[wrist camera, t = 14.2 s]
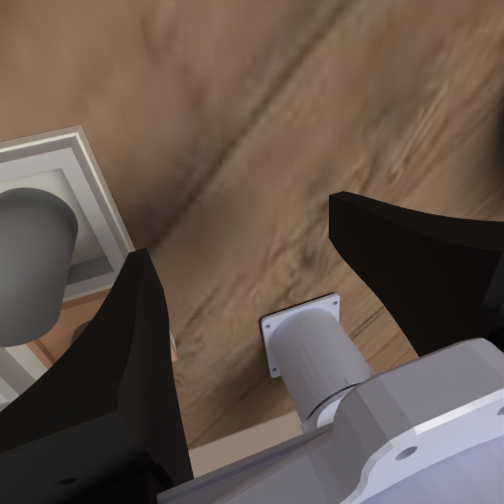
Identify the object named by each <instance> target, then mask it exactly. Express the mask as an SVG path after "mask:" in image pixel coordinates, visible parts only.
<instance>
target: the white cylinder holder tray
mask: <svg viewBox="0 0 504 504" xmlns="http://www.w3.org/2000/svg"><path fill="white" fill-rule="evenodd" d="M133 251H136V250H135V248H134V246H133V243H132V241H131V239H130V237H129V234H128V232H127V230H126V227H125V225H124V223H123V221H122V218H121V216H120V214H119V211H118V209H117V207H116V205H115V202H114V200H113V198H112V195H111V193H110V191H109V189H108V186H107V184H106V182H105V179H104V177H103V175H102V173H101V170H100V168H99V166H98V163H97V161H96V159H95V157H94V154H93V152H92V150H91V147H90V145H89V143H88V141H87V138H86V136H85V134H84V131H83V129H82V127H81V125H77V126H73V127H68V128H63V129H59V130H54V131H50V132H45V133H40V134H36V135H31V136H27V137H22V138H17V139H13V140H8V141H4V142H0V412H1V411H2V410H3V409H4V408H5V407H7V406H8V405H9V404H10V403H11V402H13V401H14V400H15V399H16V398H17V397H18V396H20V395H21V394H22V393H23V392H24V391H26V390H27V389H28V388H29V387H30V386H31V385H32V384H33V383H35V382H36V381H37V380H38V379H39V378H40V377H41V376H42V375H43V374H44V373H45V372H46V371H47V370H48V369H49V368H50V367H51V366H52V365H53V364H54V363H55V362H56V361H57V360H58V359H59V358H60V357H61V356H62V355H63V354H64V353H65V352H66V350H67V349H68V348H69V347H70V346H71V340H72V336H73V334H74V332H75V330H76V329H77V328H78V327H79V326H80V325H82V324H83V323H85V322H87V321H89V320H92V319H93V317H94V316H95V314H96V313H97V311H98V310H99V308H100V307H101V305H102V303H103V302H104V300H105V298H106V297H107V295H108V293H109V292H110V290H111V288H112V286H113V284H114V282H115V280H116V278H117V276H118V274H119V272H120V270H121V268H122V266H123V264H124V262H125V259H126V257H127V255H128V254H129V252H133ZM169 330H170V328H169ZM170 344H171V358H172V362H174V361H177V360H178V359H177V353H176V346H175V340H174V337H173V335H172V333H171V330H170Z"/></svg>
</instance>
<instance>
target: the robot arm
mask: <svg viewBox="0 0 504 504" xmlns="http://www.w3.org/2000/svg"><path fill="white" fill-rule="evenodd" d="M329 239H330V241H331V242H332V244H333V245H334V247H335V248H336V250H337V251H338V253H339V254H340V256H341V257H342V258H343V259H344V260H345V261H346V263H347V264H348V265H349V266H350V267H351V268H352V269H353V270H354V271H355V273H356V274H357V275H358V276H359V277H360V278H361V279H362V280H363V281H364V282H365V283H366V285H367V286H368V287H369V288H370V289H371V290H372V291H373V292H374V293H375V294H376V296H377V297H378V298H379V299H380V300H381V302H382V303H383V304H384V306H385V307H386V308H387V310H388V311H389V313H390V314H391V315H392V317H393V318H394V319H395V321H396V322H397V324H398V325H399V327H400V328H401V330H402V331H403V333H404V334H405V336H406V337H407V339H408V340H409V342H410V343H411V345H412V346H413V348H414V350H415V351H416V353H417V354H418V356H419V358H417V359H414V360H412V361H409V362H407V363H404V364H402V365H399V366H397V367H394V368H392V369H389V370H387V371H384V372H381V373H379V374H375V373H374V371H373V370H372V368H371V367H370V366H369V364H368V363H367V361H366V360H365V359H364V357H363V356H362V354H361V353H360V352H359V350H358V349H357V347H356V346H355V345H354V343H353V342H352V340H351V339H350V338H349V336H348V335H347V333H346V332H345V331H344V329H343V328H342V326H341V325H340V324H339V304H340V297H339V295H338V294H337V293H334V294H331V295H328V296H325V297H322V298H319V299H316V300H313V301H310V302H307V303H304V304H301V305H298V306H296V307H293V308H290V309H287V310H284V311H281V312H278V313H275V314H272V315H269V316H266V317H264V318H263V319H262V320H261V326H262V332H263V337H264V343H265V348H266V354H267V360H268V365H269V371H270V375H271V377H272V378H276V377H278V376H281V377H282V380H283V382H284V384H285V386H286V389H287V391H288V393H289V395H290V398H291V400H292V402H293V404H294V407H295V409H296V411H297V413H298V416H299V418H300V420H301V422H302V424H301V425H300V426H301V428H302V431H303V433H304V434H302V435H300V436H297V437H295V438H292V439H290V440H288V441H285V442H283V443H280V444H278V445H275V446H273V447H271V448H268V449H266V450H263V451H261V452H258V453H256V454H253V455H251V456H249V457H246V458H244V459H242V460H239V461H237V462H234V463H232V464H229V465H227V466H224V467H222V468H219V469H217V470H215V471H212V472H210V473H207V474H205V475H203V476H200V477H198V478H195V479H194V476H193V471H192V467H191V462H190V458H189V453H188V448H187V443H186V438H185V434H184V429H183V424H182V419H181V414H180V409H179V403H178V398H177V393H176V387H175V382H174V376H173V369H172V358H171V344H170V330H169V317H168V309H167V304H166V299H165V295H164V290H163V287H162V285H161V282H160V280H159V277H158V275H157V273H156V270H155V268H154V265H153V263H152V260H151V258H150V256H149V253H148V251H147V248H143V249H140V250H136V251H133V252H129V254H128V255H127V257H126V259H125V262H124V264H123V266H122V268H121V270H120V272H119V274H118V276H117V278H116V280H115V282H114V284H113V286H112V288H111V290H110V292H109V293H108V295H107V297H106V298H105V300H104V302H103V303H102V305H101V307H100V308H99V310H98V311H97V313H96V314H95V316H94V317H93V319H92V320H91V321H90V323H89V324H88V325H87V327H86V328H85V329H84V331H83V332H82V333H81V334H80V336H79V337H78V338H77V339H76V340H75V341H74V342H73V344H72V345H71V346H70V347H69V348H68V349H67V350H66V352H65V353H64V354H63V355H62V356H61V357H60V358H59V359H58V360H57V361H56V362H55V363H54V364H53V365H52V366H51V367H50V368H49V369H48V370H47V371H46V372H45V373H44V374H43V375H42V376H41V377H40V378H39V379H38V380H37V381H36V382H35V383H33V384H32V385H31V386H30V387H29V388H28V389H27V390H26V391H24V392H23V393H22V394H21V395H20V396H18V397H17V398H16V399H15V400H14V401H13V402H11V403H10V404H9V405H8V406H7V407H5V408H4V409H3V410H2V411H1V412H0V504H504V222H497V221H481V220H471V219H461V218H453V217H446V216H441V215H435V214H429V213H424V212H419V211H415V210H411V209H407V208H403V207H399V206H395V205H392V204H388V203H385V202H381V201H378V200H375V199H371V198H368V197H364V196H361V195H357V194H354V193H350V192H344V191H342V192H339V193H335V194H332V195H329ZM266 325H267V326H266Z"/></svg>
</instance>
